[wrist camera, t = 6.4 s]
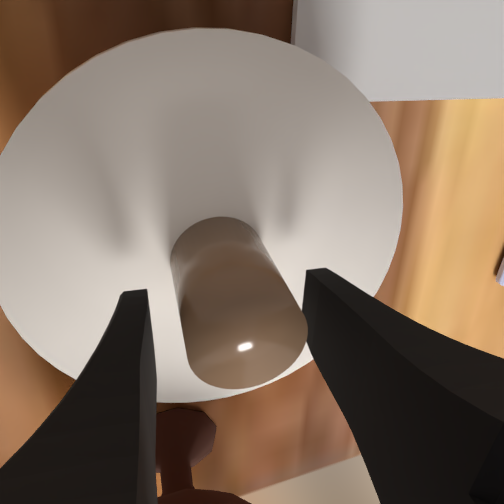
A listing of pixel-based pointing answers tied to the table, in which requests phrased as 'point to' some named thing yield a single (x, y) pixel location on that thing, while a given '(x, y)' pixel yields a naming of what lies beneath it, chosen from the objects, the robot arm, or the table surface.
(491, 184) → the table surface
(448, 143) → the table surface
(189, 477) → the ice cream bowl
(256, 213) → the lid
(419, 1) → the mat
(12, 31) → the table surface
